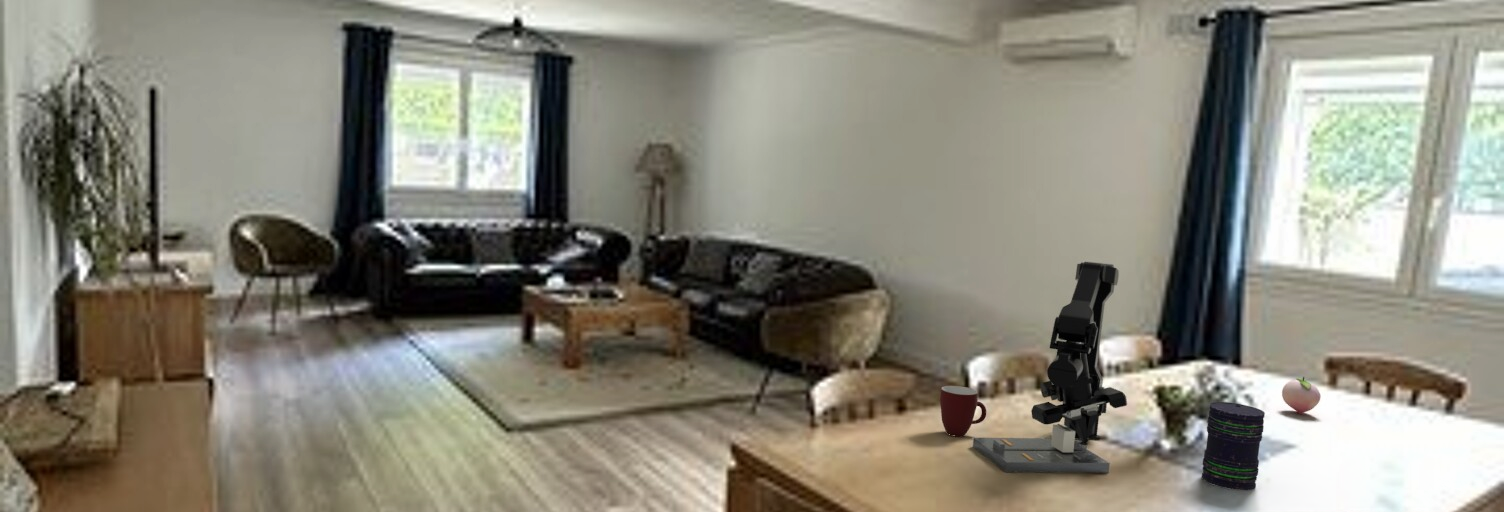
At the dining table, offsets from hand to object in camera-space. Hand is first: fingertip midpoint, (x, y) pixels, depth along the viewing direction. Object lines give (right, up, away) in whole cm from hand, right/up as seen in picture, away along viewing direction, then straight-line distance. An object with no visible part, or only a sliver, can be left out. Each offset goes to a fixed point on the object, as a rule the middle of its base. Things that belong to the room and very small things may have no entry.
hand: (1084, 445), depth 190 cm
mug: (-23, -1, +14) cm, 26 cm away
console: (-10, -3, -1) cm, 10 cm away
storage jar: (+26, -6, -8) cm, 28 cm away
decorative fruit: (+76, -3, +53) cm, 93 cm away
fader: (-5, -1, -1) cm, 5 cm away
